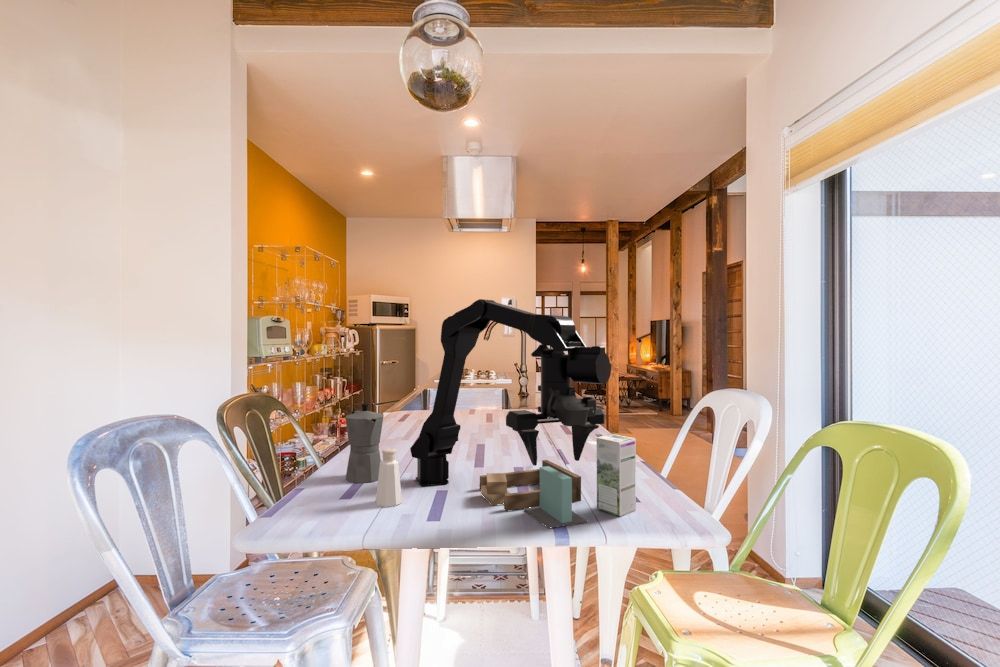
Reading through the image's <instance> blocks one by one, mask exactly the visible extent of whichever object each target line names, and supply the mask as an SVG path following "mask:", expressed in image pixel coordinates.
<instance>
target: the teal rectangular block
mask: <svg viewBox="0 0 1000 667" xmlns="http://www.w3.org/2000/svg"><path fill="white" fill-rule="evenodd" d="M539 469H540V483H539V490H540V508H541V509H543V510H544V511H545V512H547V513H548V514H550V515H551V516H553V517H554V518H555V519H557V520H558V521H560V522H561V523H567V522H572V511H573V502H572V478H571V477H569V476H567V475H565V474H563V473H561V472H559V471H557V470H555V469H553V468H551V467H549V466H545V467H542V466H540V467H539Z"/></svg>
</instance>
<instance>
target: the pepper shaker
mask: <svg viewBox="0 0 1000 667" xmlns="http://www.w3.org/2000/svg"><path fill="white" fill-rule="evenodd" d="M381 453H382V460H381V462H380V467H379V476H378V481H377V487H376V495H375V497H376V498H375V503H376V505H377V507H380V506H382V507H381V508H390V507H391V506H393V507H397V506H398V504H399V505H400V503H401V504H402V503H403V499H402V490H401V489H402V488H401V487H402V486H401V478H400V466H399V462H398V460H396V456H397V454H396V453H397V449H395V448H393V447H389V448H384V449H382V451H381ZM396 505H397V506H396Z"/></svg>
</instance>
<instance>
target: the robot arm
mask: <svg viewBox="0 0 1000 667" xmlns="http://www.w3.org/2000/svg"><path fill="white" fill-rule="evenodd" d="M491 322H494V323H497V324H500V325H503V326H507V327H509V328H513V329H514V330H515V329H516V330H518V331H522V332H524V333H525V334H527V335H528V336H529V337H530V339H532V340H533V341H536V342H538V343H540V344H539V345H538V347H537V348H536V349H535V350H534V351H532V353H530V356H531V357H532V358H540V385H539V384H538V385H537V391H538V392H539V391H540V406H537V412H538V413H536V412H533V411H530V410H526V409H521V410H510V411H508V413H507V414H506V416H505V426H506V427H509V428H511V429H512V431H514V432H517V434H518V435H519V437H520V439H521V440H522V442H523V445H524V447H525V450H526V452H527V454H528V456H529V459H530V462H531V464H532V466H537V463H538V446H537V445H538V443H537V438H538V435H539V434H540V431H539V430H537V429H536V427H538V425H540V424H552V423H560V424H562V425H563V426H566V427H571V438H572V450H573V451H572V453H573V458H574V461H577V462H578V461H580V458H581V456H582V453H583V450H584V448H585V445H586V443H587V440H588V438H589V436H590V434H591V433H592V432H593V431H594V430H596V429H599V427H600V425H604V424H605V423H606V415H605V412H604V411H603V409H602V408H599V407H597V399H596V398H594V397H593V396H584V397H582V398H578V397H577V395H576V389H575V388H576V387H575V386H572V381H573V382H575V383H579V384H580V383H581V384H582V383H583V384H584V383H585V384H598V385H605V384H607V383H608V382H609V380H610V377H611V374H612V363H611V361H610V357H609V356H608V354H607V353H606V347H605V346H604V345H594V346H593V345H592V346H587V345H586V343H585V342H584V340H583V339H582V337H581V336H580V335H579V333H578V331H577V330H576V329H577V328H576V324H575V322H574V320H573V319H572V317H569V316H566V315H555V314H554V315H552V314H541V313H540V314H538V313H533V312H531V311H530V312H529V311H527V310H523V309H520V308H516V307H513V306H509V305H506V304H503V303H499V302H496V301H495V300H492V299H483V298H481V299H479V298H478V299H477V300H475V301H473V302H472V304H470V305H469V306H467V307H464V308H462V309H460V310H458V311H457V312H455V313H453V314H452V315H450V316H448V317H446V318H445V319H444V320H443V321H442V324H441V330H440V331H441V332H440V344H441V346H442V349H443V351H444V354H443V355H444V356H443V360H442V365H441V369H440V375H439V378H438V383H437V388H436V394H435V398H434V403H433V407H432V412H431V413H430V415H429V416H428V417H427V418H426V419H425V421H424V422H423V424H422V427H421V430H420V433H419V435H418V438H417V439H416V440H415V442H414V443H413V444H412V445H411V447H410V450H409V451H410V454H411V457H412V458H415V459H417V461H416V462H417V463H416V464H417V472H416V473H417V476H416V477H415V480H416V482H417V483H418V484H419V485H420V487H428V486H436V485H437V486H438V485H446V484H449V482H450V481H449V480H448V479H449V473H450V472H449V470H450V469H449V461H448V460H447V455H451V454H452V452H453V449H454V446H455V445H456V442H459V433H460V430H461V424H458V423H457V421H456V418H455V411H456V406H457V402H458V397H459V392H460V387H461V382H462V378H463V373H464V368H465V365H466V360H467V357H468V355H470V353H471V352H472V350H474V348H475V347H476V344H477V341H478V339H479V336H480V334H481V333H482V332H483V331H484V330H486V329H487V328H488V327H489V325H490V323H491ZM548 346H549V347H548ZM550 347H551V348H550ZM565 352H567V353H568V354H566V353H565Z"/></svg>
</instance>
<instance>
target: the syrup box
mask: <svg viewBox="0 0 1000 667" xmlns="http://www.w3.org/2000/svg"><path fill="white" fill-rule="evenodd" d="M636 442H637V440H636V437H630V436H624V435H619V434H614V433H609V434H608V433H607V434H604V435H600V436H599V437H596V509H597V510H600V511H603V512H606V513H609V514H611V515H612V514H613V515H615V516H618V517H622V516H624V515H628V514H630V513H633V512H634V511H636V510H637V498H636V497H637V496H636V495H637V494H636V492H637V491H636V489H637V487H636V482H637V481H636V479H637V478H636V472H637V470H636V468H637V465H636V463H637V462H636V461H637V459H636V458H637V456H636V455H637V453H636V452H637V446H636V445H637V444H636Z"/></svg>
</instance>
